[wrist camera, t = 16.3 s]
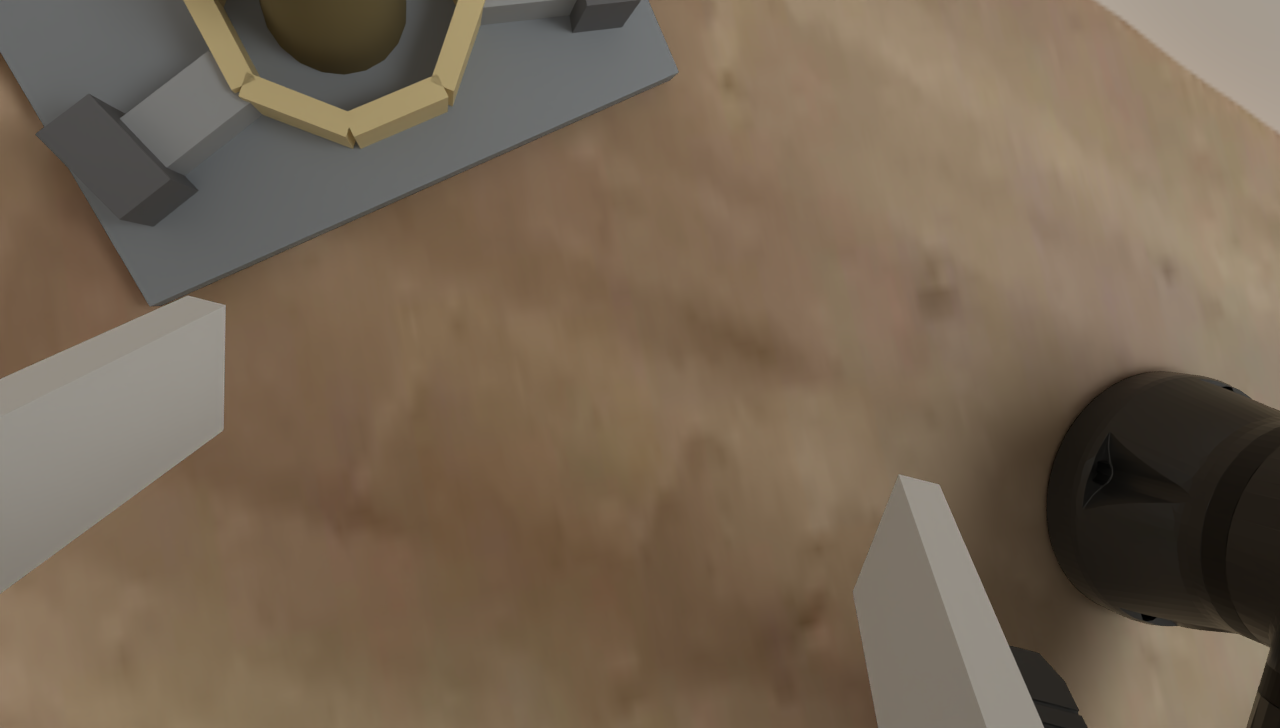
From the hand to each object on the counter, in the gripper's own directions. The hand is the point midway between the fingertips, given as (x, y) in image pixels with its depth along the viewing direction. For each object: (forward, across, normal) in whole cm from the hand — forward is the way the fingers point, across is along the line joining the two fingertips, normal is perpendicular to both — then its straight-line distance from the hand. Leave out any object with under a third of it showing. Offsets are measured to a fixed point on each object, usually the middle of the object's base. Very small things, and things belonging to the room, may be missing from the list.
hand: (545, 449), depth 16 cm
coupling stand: (+24, -16, +5) cm, 30 cm away
